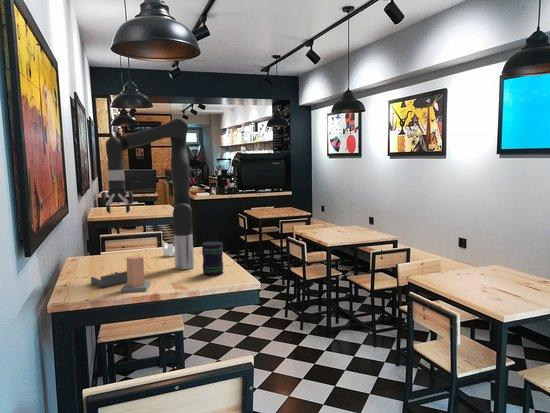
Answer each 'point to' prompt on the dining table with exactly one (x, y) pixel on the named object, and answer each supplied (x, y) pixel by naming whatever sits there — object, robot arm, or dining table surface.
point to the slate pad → (136, 289)
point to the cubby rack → (110, 280)
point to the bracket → (168, 250)
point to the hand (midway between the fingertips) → (118, 212)
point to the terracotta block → (135, 271)
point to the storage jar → (212, 258)
